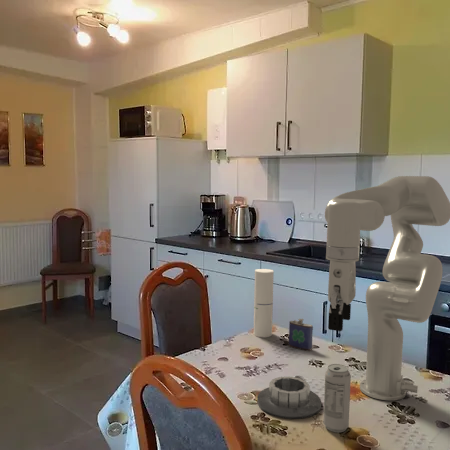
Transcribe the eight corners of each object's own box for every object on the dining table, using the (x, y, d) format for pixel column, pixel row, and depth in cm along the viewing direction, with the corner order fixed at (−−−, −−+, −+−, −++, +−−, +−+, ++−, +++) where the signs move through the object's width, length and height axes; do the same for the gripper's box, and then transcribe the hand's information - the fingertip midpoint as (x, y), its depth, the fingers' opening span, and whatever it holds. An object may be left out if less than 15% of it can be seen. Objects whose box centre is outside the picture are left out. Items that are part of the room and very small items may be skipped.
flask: (313, 349, 171) (314, 320, 169) (309, 352, 168) (310, 322, 167) (290, 343, 176) (291, 315, 175) (286, 346, 174) (287, 317, 173)
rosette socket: (327, 396, 134) (328, 378, 133) (312, 424, 118) (312, 404, 118) (269, 385, 141) (269, 367, 140) (247, 410, 125) (248, 391, 125)
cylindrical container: (266, 338, 182) (268, 273, 179) (250, 335, 185) (251, 271, 183) (275, 333, 188) (276, 270, 185) (258, 330, 191) (260, 268, 189)
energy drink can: (353, 427, 117) (356, 368, 116) (339, 436, 113) (341, 375, 112) (332, 418, 122) (335, 361, 120) (318, 426, 118) (320, 367, 116)
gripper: (352, 260, 104) (348, 337, 105) (364, 250, 120) (361, 317, 121) (317, 257, 107) (315, 332, 109) (334, 247, 123) (331, 313, 124)
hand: (339, 324), depth 115 cm, fingers open, 9 cm apart
